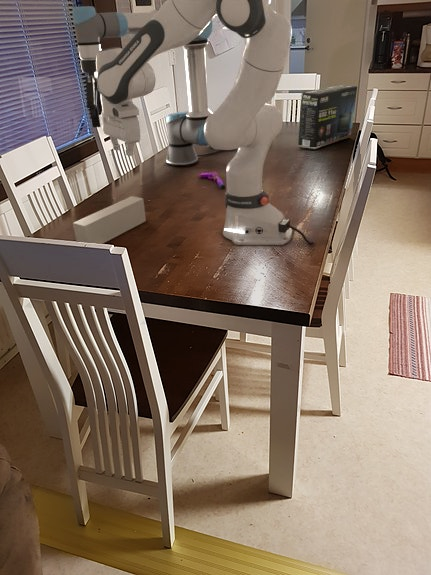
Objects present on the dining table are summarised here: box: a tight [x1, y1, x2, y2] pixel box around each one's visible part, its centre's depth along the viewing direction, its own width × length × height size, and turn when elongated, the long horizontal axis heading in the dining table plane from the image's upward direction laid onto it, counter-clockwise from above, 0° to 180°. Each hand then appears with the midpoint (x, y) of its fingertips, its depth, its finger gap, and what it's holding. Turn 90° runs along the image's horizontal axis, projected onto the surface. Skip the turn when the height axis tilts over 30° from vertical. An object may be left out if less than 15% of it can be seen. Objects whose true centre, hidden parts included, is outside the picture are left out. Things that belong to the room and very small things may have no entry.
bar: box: [72, 195, 147, 245], centre depth 151 cm, size 27×5×8 cm, turn 147°
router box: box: [297, 84, 358, 151], centre depth 238 cm, size 36×11×27 cm, turn 134°
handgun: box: [199, 171, 226, 190], centre depth 194 cm, size 21×8×2 cm, turn 11°
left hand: (101, 123), depth 169 cm, fingers open, 13 cm apart
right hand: (123, 152), depth 147 cm, fingers open, 8 cm apart
